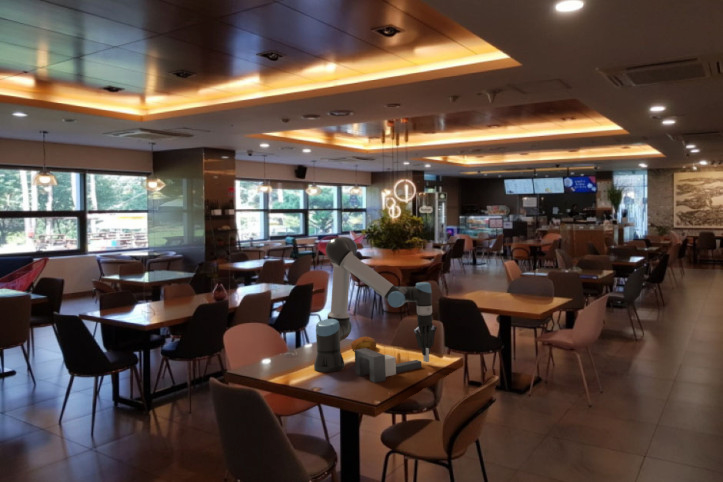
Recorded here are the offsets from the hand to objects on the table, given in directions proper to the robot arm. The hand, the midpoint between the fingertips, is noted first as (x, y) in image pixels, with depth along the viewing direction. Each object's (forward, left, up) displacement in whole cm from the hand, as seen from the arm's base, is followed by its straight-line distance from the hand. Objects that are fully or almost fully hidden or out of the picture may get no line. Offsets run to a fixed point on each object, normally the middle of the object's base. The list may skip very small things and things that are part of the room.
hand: (426, 361), depth 267 cm
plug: (0, -16, -2) cm, 17 cm away
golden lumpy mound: (-48, -8, -2) cm, 48 cm away
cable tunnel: (0, -33, -2) cm, 33 cm away
